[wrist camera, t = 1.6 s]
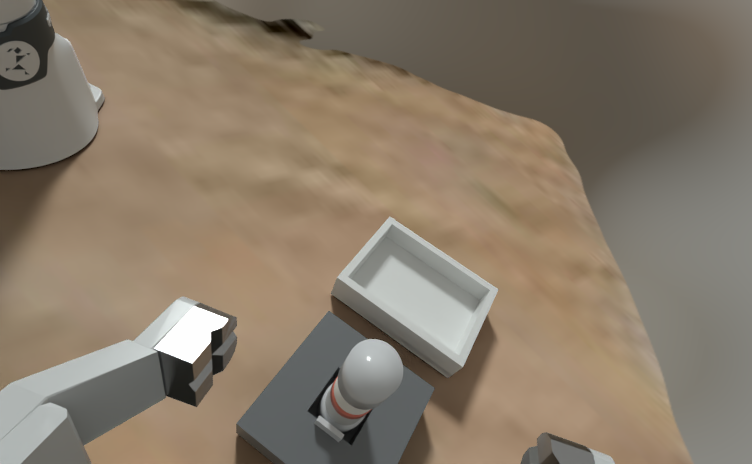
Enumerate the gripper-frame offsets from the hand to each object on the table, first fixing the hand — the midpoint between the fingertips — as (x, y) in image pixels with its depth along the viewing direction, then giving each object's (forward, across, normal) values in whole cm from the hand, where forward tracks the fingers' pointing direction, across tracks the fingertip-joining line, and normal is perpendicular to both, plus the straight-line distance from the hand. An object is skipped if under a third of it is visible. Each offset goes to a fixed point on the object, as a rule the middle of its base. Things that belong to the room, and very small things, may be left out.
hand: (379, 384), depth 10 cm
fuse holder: (+13, +2, +25) cm, 28 cm away
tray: (+28, -1, +22) cm, 35 cm away
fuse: (+13, +2, +24) cm, 27 cm away
